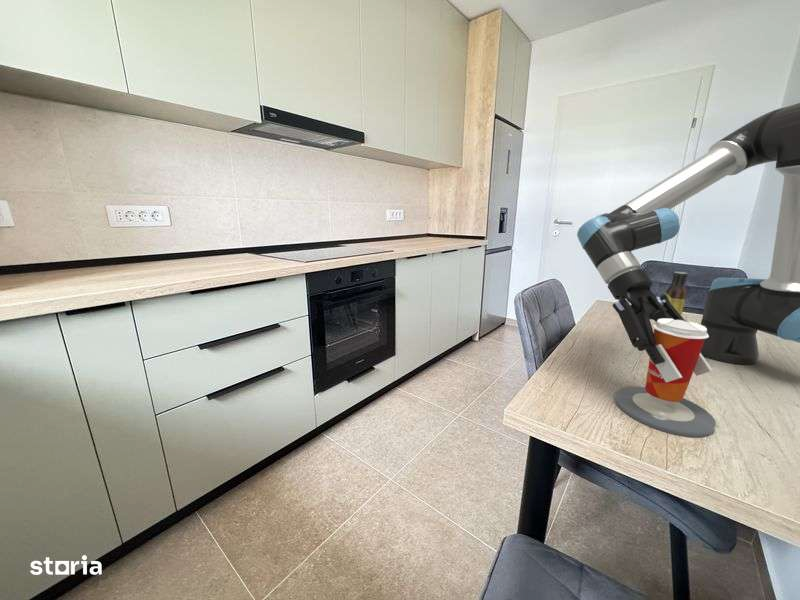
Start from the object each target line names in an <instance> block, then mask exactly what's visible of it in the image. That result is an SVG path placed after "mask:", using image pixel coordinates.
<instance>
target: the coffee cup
mask: <svg viewBox="0 0 800 600" xmlns="http://www.w3.org/2000/svg"><path fill="white" fill-rule="evenodd" d="M685 321H686V320H685ZM685 321H683V320H673V319H669V318H662V319H658V320H657V322H655V323H654V324H653V325H652V329H653V333H654V336H655V339H656V343H657V344H656V345H655V346H657V345H660V344H661V345H662V346H663V348H664V349H665V351H666V352H667V354H668V355H669V357H670V359H671V360H672V362H673V363H674V365H675V366H676V368H677V369H678V371H679V372H680V374H681V376H682V378H679V379H676V380H673V381H670V382H665V380H664V378H663V377H662V375H661V374H660V372H659V370H658V369H657V367H656V365H655V364H654V363H653V362H652V360H651V358H650V357H649V359H648V365H647V366H648V367H647V371H646V381H645V386H644V387H645V390H646V391H647V392H648V393H649V394H650V395H652V396H654V397H656V398H659V399H662V400H665V401H670V402H680V401H682V399H683V398H684V397H685V394H686V392H687V390H688V386H689V384H690V382H691V379H692V377H693V373H694V372H693V371H694V368H695V366H696V363H697V360H698V357H699V355H700V352H701V349H702V347H703V344H704V341H705V339H706V338H708V337H709V336H708V334H707V328H706V327H704V326H702V325H700V324H701V323H700V324H699V323H696V322H692V321H686V322H685Z"/></svg>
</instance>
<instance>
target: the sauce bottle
mask: <svg viewBox="0 0 800 600" xmlns="http://www.w3.org/2000/svg"><path fill="white" fill-rule="evenodd" d="M688 275H689V273H688V272H685V271H674V272H673V274H672V280H671V283H670V285H669V286H668V288H667V289H666V290H665V292H664V295H665V296H667V298H668V300H669V301H670V303H671V305H672V306H673V307H674V308H675V309H676V310H677V311H678V313H679V314H680V315H681V316H682V313H683V310H684V307H685V306H684V305H685V304H686V303H685V302H686V297H687V293H688V292H687V291H688V290H687V288H686V286H685V284H686V279H687V278H688Z"/></svg>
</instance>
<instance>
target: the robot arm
mask: <svg viewBox="0 0 800 600" xmlns="http://www.w3.org/2000/svg"><path fill="white" fill-rule="evenodd" d="M772 162H775V170H776V172H778V173H780V174H781V175H783V183H782V189H781V196H780V197H781V199H780V205H779V211H778V218H777V225H776V233H775V240H774V247H773V254H772V259H771V260H772V262H771V268H770V269H771V270H770V275H769V277H768V278H745V277H744V278H743V277H717V278H715V279H714V280H713V281H712V283H711V286H710V288H709V289H708V293H707V297H706V301H705V305H704V309H703V313H702V318H701V322H700V325H702V326H704V327H706V328H707V334H708V336H709V337H708V338H706V339H705V341H704V344H703V347H702V349H701V352H700V355H699V357H698V360H697V363H696V366H695V368H694V371H693V373H694V375H695V376H696V377H697V376H701V375H705V374H707V373H710V372H713V371H714V370H713V368H712V367H711V365H710V364H709V363H708V362H707V360H706V359H705V357H706V358H709V359H712V360H716V361H721V362H725V363H731V364H737V365H755V364H757V363H758V360H759V358H760V357H759V356H760V353H759V346H758V340H757V333H758V331H760V332H762V333H766V334H768V335H772V336H775V337H779V338H780V339H782V340H786V341H792V342H794V343H799V344H800V102H799V103H794V104H791V105H788V106H785V107H781V108H777V109H774V110H771V111H769V112H766V113H765V114H762V115H760V116H758V117H757V118H755V119H752V120H750V121H748V122H747V123H746V124H744V125H742V126H741V127H739V128H737V129H735V130H734V131H733V132H731V133H729V134H728V135H726V136H725V137H723V138H722V139H720V140H718V141H716V142H715V143H713V144H712V145H711V146H710V147H709V149H708V151H707V153H705V154H703V155H701V156H700V157H698V158H696V159H695V160H693V161H692V162H690V163H688V164H687V165H685V166H684V167H682V168H681V169H679V170H678V171H676V172H674V173H672V174H671V175H669V176H668V177H666V178H665V179H663V180H661V181H660V182H658V183H657V184H655V185H653V186H652V187H650V188H648V189H647V190H645V191H644V192H642V193H641V194H639V195H637V196H636V197H635V198H632V199H631V200H629V201H628V202H626V203H625V204H623V205H621V206H619V207H617V208H615V209H614V210H613V211H610V212H608V213H603V214H599V215H596V216H595V217H593V218H591V219H588V220H587V221H586V222H584V223H583V224H581V226H580V227H579V228H578V230H577V234H576V235H577V240H578V242H579V243H580V245H581V247H582V249H583V250H584V252H585V253H586V255H587V256H588V258H589V259H590V261H591V262H592V264H593V266H594V267H595V269H596V270H597V272H598V273H599V276H601V279H602V280H603V281H604V284H606V285H607V289H608V290H609V292H610V293H611V295H612V297H613V298H614V299H615V300H617V301H616V302H613V304H612V307H613V309H614V310H615V312H616V313H617V314H618V317H619V318H620V320H621V323H622V326H623V328H624V329H625V331H626V334H627V337H628V339H629V340H630V343H631V345H632V346H633V348H636V349H637V351H639V352H642V351H645V352H646V353H647V355H648V356H649V359H650V358H651V360H652V362H653V363H654V364H655V365H656V367H657V369H658V370H659V372H660V374H661V375H662V377H663V378H664V380H665V382H670V381H673V380H676V379H679V378H682V376H681V374H680V372H679V371H678V369H677V368H676V366H675V365H674V363H673V362H672V360H671V359H670V357H669V355H668V354H667V352H666V351H665V349H664V348H663V346H662V345H661V344H660V345H657V346H655V345H656V344H657V343H656V339H655V336H654V328H653V325H652V322H651V321H652V320H653V321H654V322H655V323H656V322H657V320H658V319H662V318H669V319H673V320H683V321H685V322H687V321H686V319H684V317H683V316H682V315H680V314H679V313H678V311H677V310H676V309H675V308H674V307H673V306H672V305H671V303H670V301H669V300H668V298H667V296H665V294H662V295H660V296H656V295H655V293H653V292H652V291H651V287H652V286H653V280H652V279H651V278H650V276H649V275H648V273H647V272H646V270H644V269H642V265H641V263H640V262H639V261H638V259H637V258H636V256H635V255H634V253H633V251H637V250H639V249H640V250H641V249H643V248H646V247H650V246H653V245H657V244H658V245H660V244H662V243H664V242H667V241H668V240H672V239H673V238H675V237H676V236H677V235H678V233H679V231H680V228H681V226H680V225H681V224H680V218H679V216H678V215H677V213H676V212H675V211H673V209H674V208H675V207H677V206H679V205H680V204H681V203H683V202H685V201H687V200H688V199H690V198H692V197H693V196H695V195H696V194H699V193H700V192H702V191H704V190H705V189H707V188H709V187H710V186H712V185H713V184H715V183H718V182H719V181H720V180H722V179H724V178H725V177H727V176H735V175H738V174H739V173H742V172H743V171H745V170H747V169H749V168H752V167H755V166H757V165H762V164H766V163H772Z"/></svg>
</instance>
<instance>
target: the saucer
mask: <svg viewBox="0 0 800 600" xmlns="http://www.w3.org/2000/svg"><path fill="white" fill-rule="evenodd" d="M645 387H646V386H636V385H635V386H633V385H632V386H624V387H620V388H618V389H617V390H616V392H615V395H614V402H615V404H616V406H617V408H618V409H620V411H622V412H623V413H624V414H626V415H627V416H628V417H630V418H632V419H633V420H635V421H637V422H639V423H641V424H642V425H644V426H645V425H646V426H648V427H649V428H652V429H655V430H658V431H660V432H663V433H668V434H671V435H675V436H679V437H687V438H704V437H708V436H711V435H712V434H713V433H714V432H715V428H716V426H717V425H716V423H717V422H716V419H715V418H714V417H713V416H712V414H711V413H709V411H707V410H706V409H705V408H703V407H702V406H700V405H698V404H696V403H695V402H693V401H690V400H689V399H686V398H684V397H683V399H682V401H680V402H670V401H665V400H662V399H659V398H656V397H654V396H652V395H650V394H649V393H648V392H647V391H646V390H645Z"/></svg>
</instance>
